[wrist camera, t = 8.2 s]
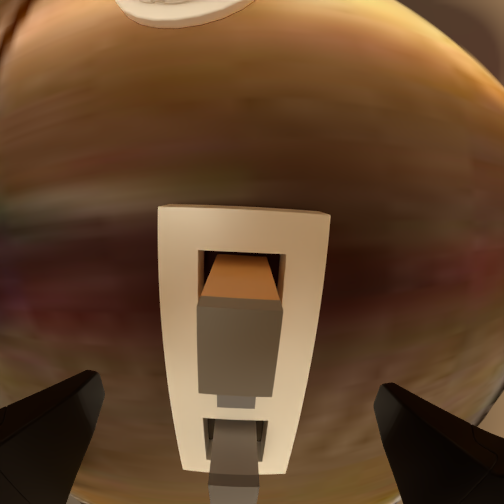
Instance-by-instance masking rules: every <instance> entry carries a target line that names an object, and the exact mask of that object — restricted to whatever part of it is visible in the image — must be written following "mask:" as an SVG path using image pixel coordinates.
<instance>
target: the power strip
mask: <svg viewBox="0 0 504 504" xmlns="http://www.w3.org/2000/svg"><path fill="white" fill-rule="evenodd" d="M330 218H331V215H329V214H326V213H323V212H320V211H309V210H296V209H281V208H264V207H245V206H222V205H193V204H168V205H163V206H159V207H158V271H159V294H160V310H161V324H162V336H163V346H164V356H165V365H166V373H167V381H168V389H169V396H170V402H171V409H172V415H173V421H174V427H175V432H176V438H177V443H178V448H179V453H180V458H181V463H182V467H183V470H191V471H200V472H209V471H210V462H211V452H212V443H213V440H212V439H209V433H208V418H212V419H228V420H263V429H262V437H261V441H257V451H258V470H259V474H285V473H286V469H287V465H288V462H289V458H290V454H291V451H292V447H293V443H294V439H295V435H296V431H297V426H298V422H299V418H300V413H301V409H302V404H303V400H304V395H305V390H306V385H307V381H308V375H309V370H310V365H311V360H312V354H313V349H314V343H315V337H316V331H317V325H318V318H319V312H320V305H321V298H322V290H323V283H324V275H325V267H326V258H327V249H328V239H329V229H330ZM204 250H206V251H227V252H248V253H270V254H280V261H279V273H278V285H277V292H278V295H279V298H280V301H281V305H282V308H283V319H282V327H281V335H280V343H279V351H278V358H277V365H276V373H275V380H274V387H273V393H272V397H244V396H226V395H212V394H201V393H199V392H198V365H197V304H198V301H199V299H200V296H201V294H202V291H203V289H204Z"/></svg>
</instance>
